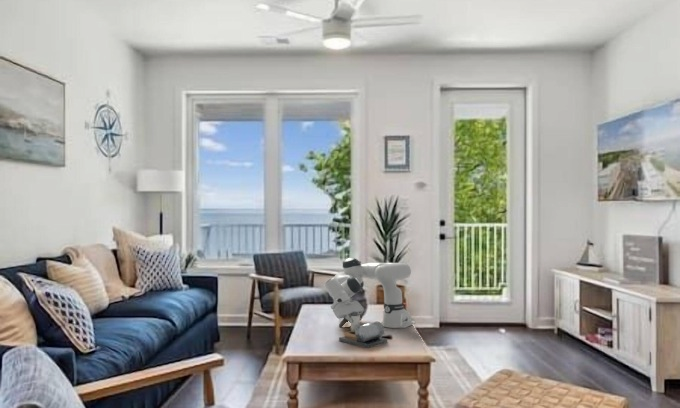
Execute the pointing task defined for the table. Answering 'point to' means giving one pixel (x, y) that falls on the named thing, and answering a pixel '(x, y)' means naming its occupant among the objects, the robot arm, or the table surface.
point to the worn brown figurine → (343, 322)
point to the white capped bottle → (355, 321)
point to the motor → (365, 335)
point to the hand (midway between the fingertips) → (355, 321)
